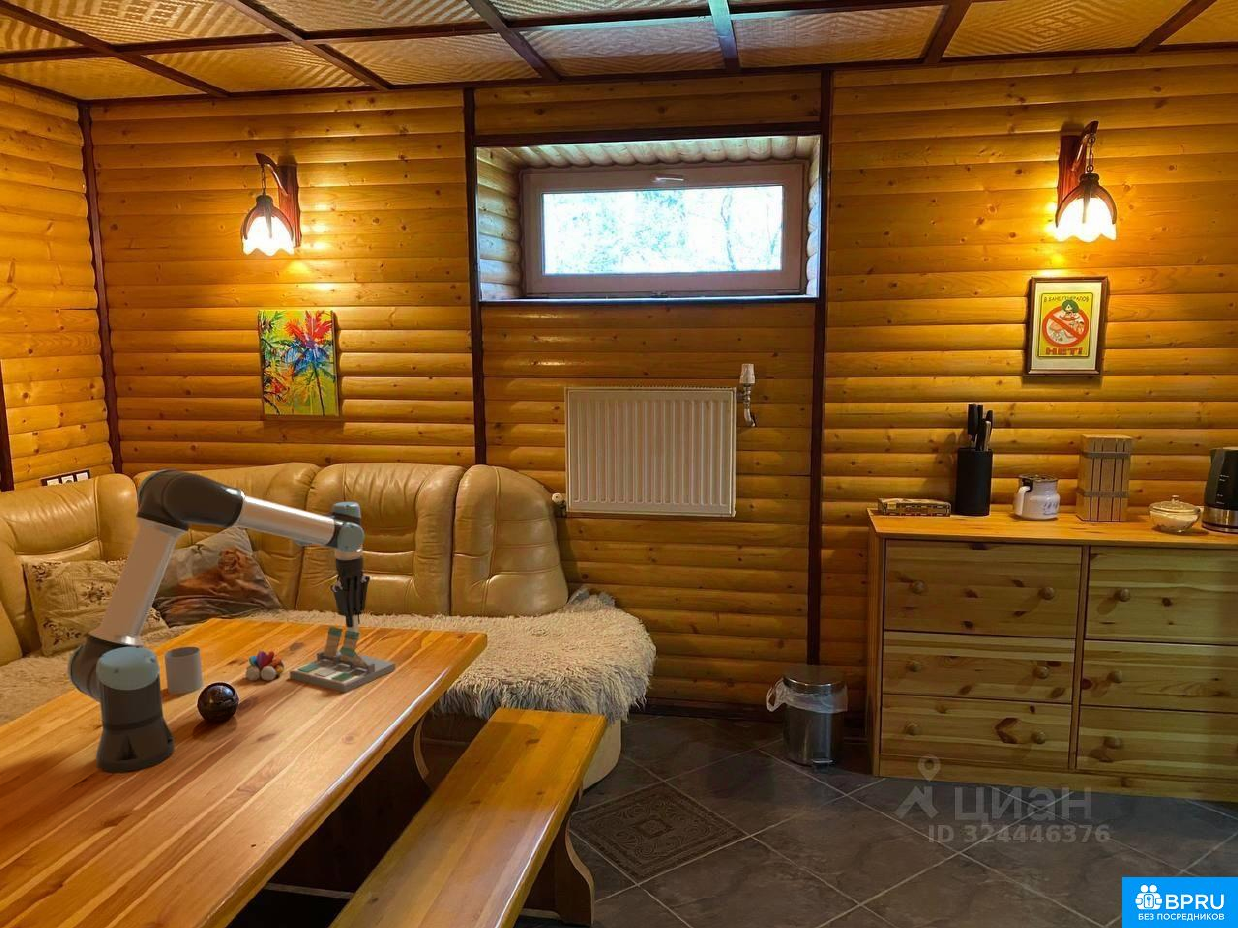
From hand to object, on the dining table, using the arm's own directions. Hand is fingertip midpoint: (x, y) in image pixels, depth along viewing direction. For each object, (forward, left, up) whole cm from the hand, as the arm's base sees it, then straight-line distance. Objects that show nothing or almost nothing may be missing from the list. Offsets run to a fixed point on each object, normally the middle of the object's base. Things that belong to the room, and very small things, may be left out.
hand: (353, 636), depth 250 cm
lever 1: (-9, 0, -3) cm, 10 cm away
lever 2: (-9, -7, -3) cm, 12 cm away
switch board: (-10, -7, -6) cm, 14 cm away
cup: (-37, +23, -7) cm, 44 cm away
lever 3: (-9, -13, -3) cm, 16 cm away
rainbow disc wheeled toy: (-22, +11, -7) cm, 25 cm away
